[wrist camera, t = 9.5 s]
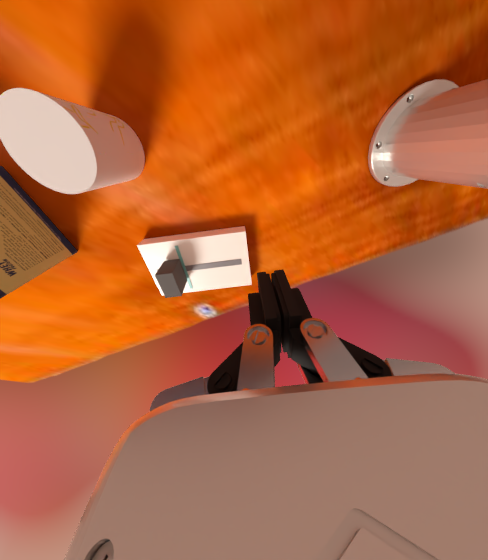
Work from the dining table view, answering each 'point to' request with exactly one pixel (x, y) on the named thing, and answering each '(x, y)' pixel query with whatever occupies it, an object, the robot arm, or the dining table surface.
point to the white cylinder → (67, 142)
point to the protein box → (25, 237)
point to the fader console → (202, 257)
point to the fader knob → (171, 278)
